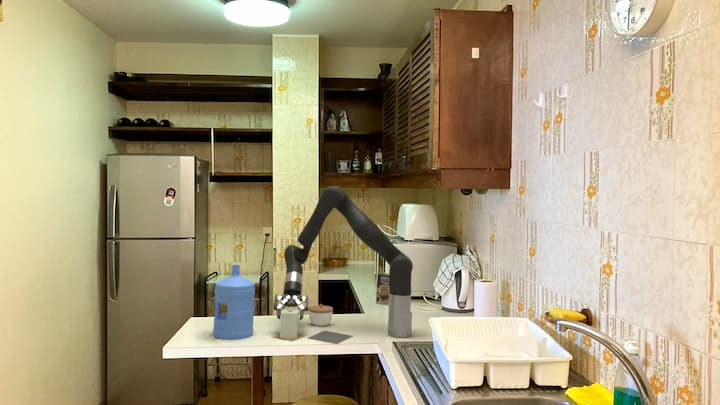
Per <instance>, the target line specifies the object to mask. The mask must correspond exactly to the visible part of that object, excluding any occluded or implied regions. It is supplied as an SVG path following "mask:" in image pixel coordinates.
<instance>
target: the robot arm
mask: <svg viewBox="0 0 720 405" xmlns="http://www.w3.org/2000/svg"><path fill="white" fill-rule="evenodd" d="M334 209H335V210H337V211H338V212H339V213H340V214H341V215H342V216H343V217H344V218H345V219H346V221H347V223H348V225H349V226H350V228H351V230H352V232H353V233H354V234H355V236H356V237H357V238H358V239H359V240H361V241H362V242H363V244H365V246H367V247H368V248H370V249H371V250H372V251H374V252H375V253H377V254H378V255H379V256H381V257H382V258H383V260H384V261H385V262H386V263H387V264H388V266H389V270H388V274H389V305H388V316H387V317H388V318H387V320H388V321H387V335H388V336H391V337H393V338H406V339H407V338H408V337H409V336H411V335H412V325H413V324H412V323H413V322H412V321H413V312H412V311H411V309H412V308H411V307H412V306H411V305H412V304H411V303H412V272H413V268H414V264H413V261H412V260H411V258H410V257H408V256H407V254H405V253H404V252H403V251H401V250H400V249H399V248H398V247H396V246H395V244H393V243H392V241H391V240H390V238H388V237H387V235H386V234H385V233H384V232H383V231H382V230H381V228H380V227H379V226H378V225H377V224H376V223H375V222H374V221H373V220H372V219H371V218H370V217H369V216H368V215H367V214H365V212H364V211H363V210H362V209H360V208H359V207H358V206H357V204H355V203H354V201H353V200H352V199H351V198H350V197H349V195H348V194H347V193H346V191H345V189H343V188H342V187H340V186H339V185H337V186H336V185H331V186H327V187H325V188H324V189H323V191H322V193H321V194H320V197H319V198H318V201H317V204H316V206H315V208H314V210H313V212H312V215H311V216H310V218H309V219H308V221H307V223H306V224H305V225H304V227H303V229H301V230H302V231H301V232H300V233H299V235H298V237H297V242H298V243H299V244H300V245H301V246H303V247H302V248H301V247H299V246H297V245H295V244H289V245H288V246H286V248H285V250H284V255H283V257H284V262H285V266H286V267H285V268H286V270H285V272H286V273H285V278H284V284H283V293H282V296H281V295H278V294H275V296H274V300H273V305H272V306H273V307H272V308H273V311H276V318H277V319H278V320H281V312H282V310H283V309H285V308H286V307H287V308H291V307H292V308H297V310H299V321H302V320H303V319H304V316H305V314H304V313H305V312H309V295H305V296H302V292H303V271H304V270H303V266H302V265H305V263H306V262H307V261H308V258H309V256H310V255H309V254H310V252H311V249H312V245H314V242H315V241H316V240H317V238H318V236H319V234H320V233H321V231H322V228H323V225H324V224H325V223H324V222H325V221H326V219H327V217H328V216H329V214H330V213H331V212H332V211H333V210H334ZM280 301H281V303H280V304H278V302H280ZM302 301H303V303H305V306H303V304H302Z"/></svg>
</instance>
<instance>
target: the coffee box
mask: <svg viewBox="0 0 720 405" xmlns="http://www.w3.org/2000/svg"><path fill="white" fill-rule="evenodd" d="M376 275H377V277H376V278H377V279H376V281H377V282H376V296H375V298H376V300H375V304H379V305H386V306H387V305H388V306H389V273H382V272H380V273H377V274H376Z"/></svg>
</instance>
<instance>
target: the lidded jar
mask: <svg viewBox="0 0 720 405" xmlns="http://www.w3.org/2000/svg"><path fill="white" fill-rule="evenodd" d="M333 311H334V308H333V306H329V305H323V303H320V304H319V305H312V306H311V305H310V306H308V318H309V320H310V322H311V324H312V325H313V326H315V327H326V326H328V325H329V324H330V323H331V321H332V320H333Z"/></svg>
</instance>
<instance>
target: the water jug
mask: <svg viewBox="0 0 720 405" xmlns="http://www.w3.org/2000/svg"><path fill="white" fill-rule="evenodd" d="M231 267H232V268H231V275H229V276H228V277H225V278H223V279H221V280H219V281H217V282H216V283H215V286H214V301H215V308H214V310H215V311H214V312H215V314H214V317H213V329H212V335H213V337H215V338H217V339H219V340H220V339H221V340H242V339H246V338H249V337H251V336H252V335H253V334H254V314H255V293H256V286H255V285H256V284H255V282H254V281H252V280H250V279H248V278H246V277H244V276H242V275H241V274H240V272H241V269H240V267H241V265H240V264H232V265H231ZM221 304H226V305H227V306H226V307H227V308H226V312H225V313H221Z"/></svg>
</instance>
